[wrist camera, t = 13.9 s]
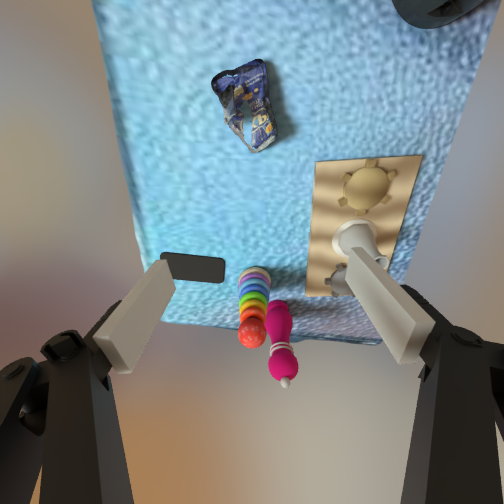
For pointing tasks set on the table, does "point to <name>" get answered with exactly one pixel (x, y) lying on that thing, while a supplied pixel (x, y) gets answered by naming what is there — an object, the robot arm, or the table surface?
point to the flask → (362, 242)
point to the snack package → (255, 92)
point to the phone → (195, 267)
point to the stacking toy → (253, 306)
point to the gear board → (354, 213)
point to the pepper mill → (280, 342)
